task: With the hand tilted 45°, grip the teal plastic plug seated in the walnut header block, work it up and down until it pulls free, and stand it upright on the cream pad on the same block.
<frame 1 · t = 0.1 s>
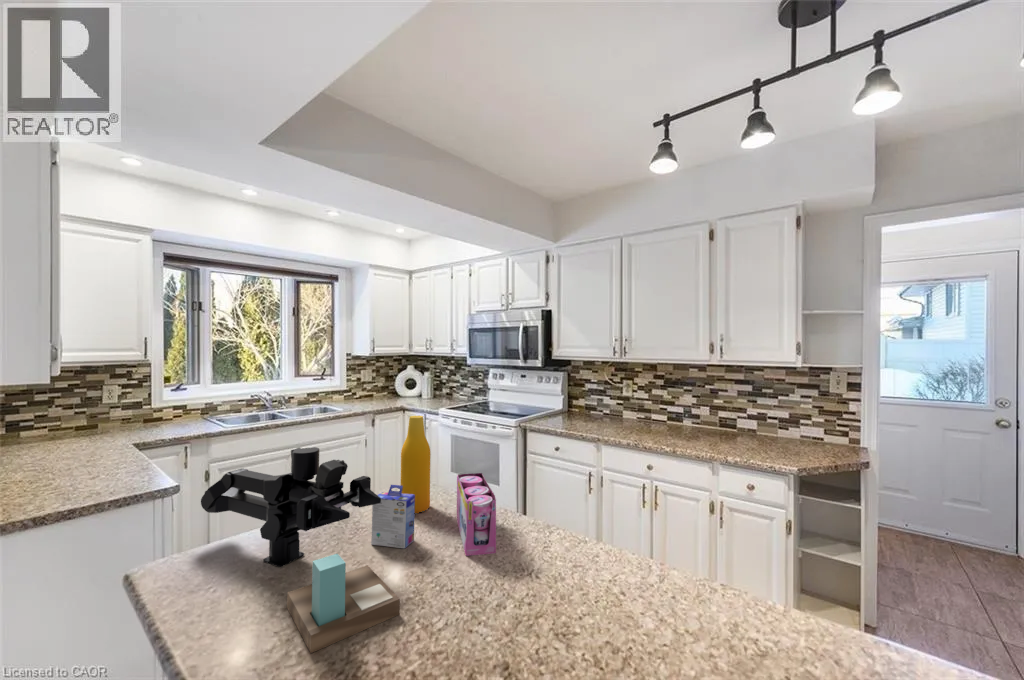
hand: (365, 507, 91), 17 cm above the countertop, tool horizontal, fingers open, 9 cm apart
plug: (328, 596, 76), in the header
beer bottle: (415, 509, 133), on the countertop
ink cartridge box: (393, 543, 110), on the countertop
gum box: (474, 536, 115), on the countertop
header: (327, 630, 76), on the countertop
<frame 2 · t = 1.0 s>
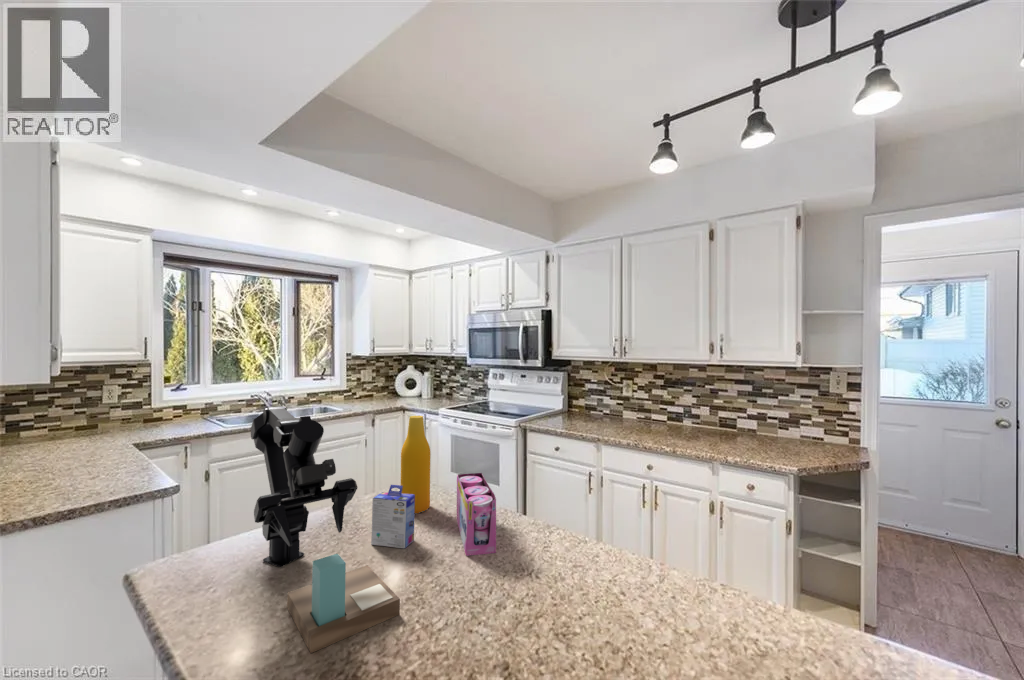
hand: (316, 538, 83), 14 cm above the countertop, tool tilted 45°, fingers open, 9 cm apart
nothing on the countertop moved.
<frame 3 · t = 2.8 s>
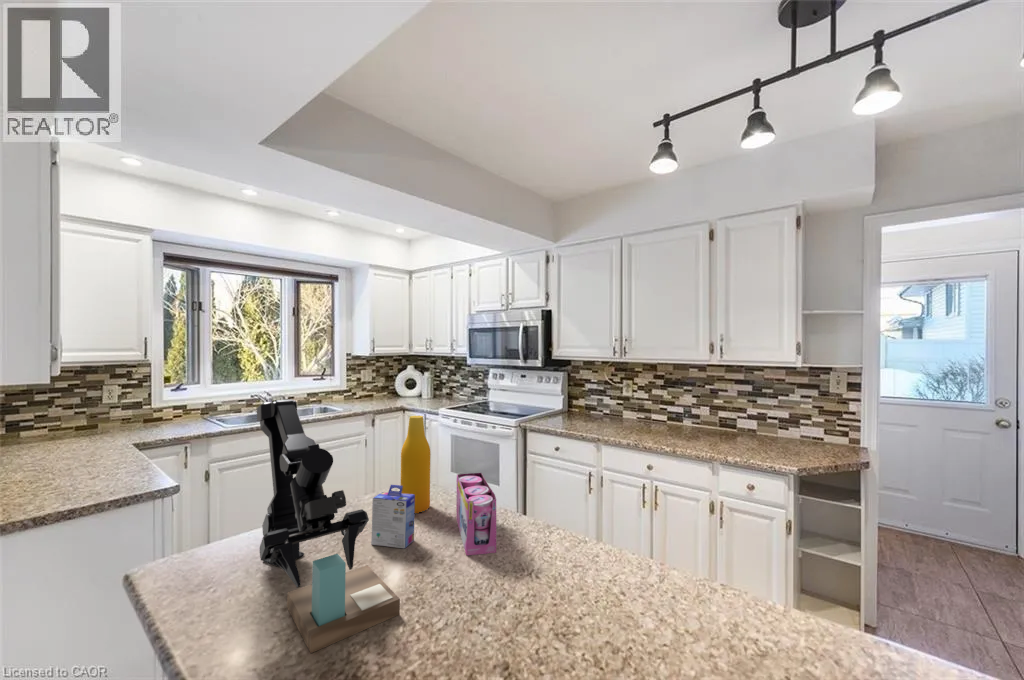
hand: (326, 577, 78), 9 cm above the countertop, tool tilted 45°, fingers open, 9 cm apart
nothing on the countertop moved.
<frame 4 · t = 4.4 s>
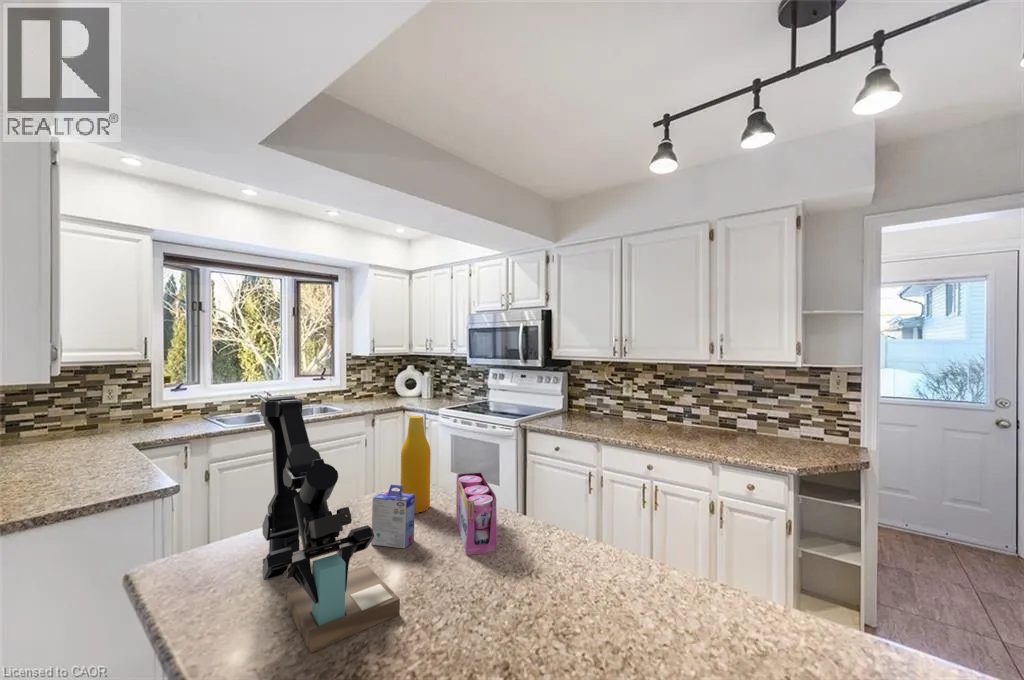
hand: (330, 597, 75), 7 cm above the countertop, tool tilted 45°, fingers closed on plug, 4 cm apart
plug: (328, 596, 76), in the header, touching gripper
everything else where it was.
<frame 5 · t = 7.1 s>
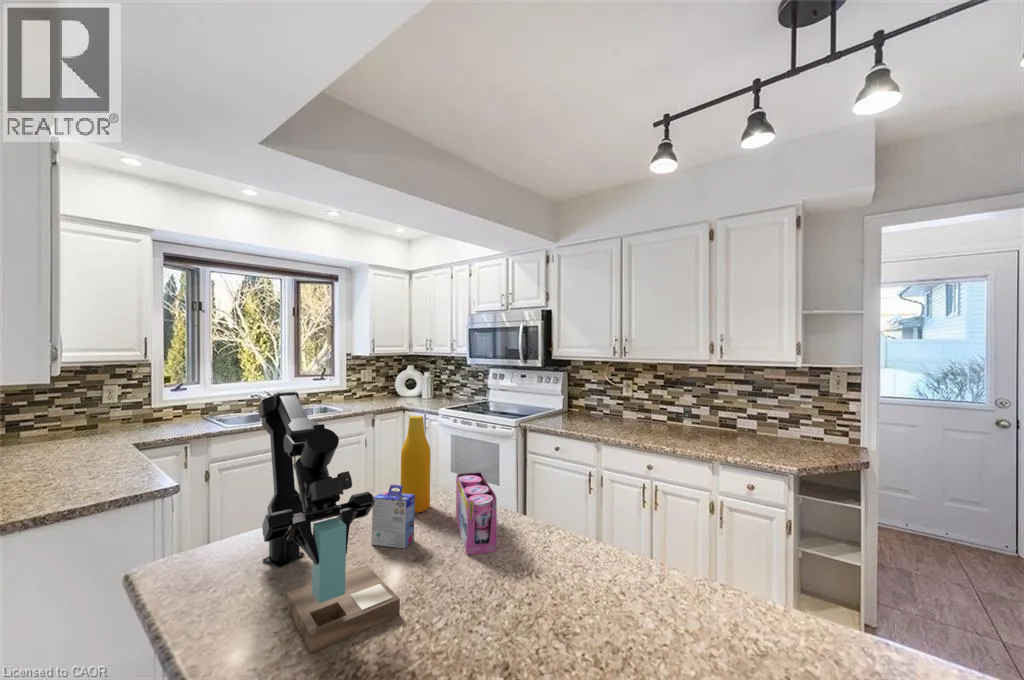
hand: (331, 559, 75), 13 cm above the countertop, tool tilted 45°, fingers closed on plug, 4 cm apart
plug: (329, 558, 76), point 13 cm above the countertop, touching gripper
everything else where it was.
when the fingers open (11 cm above the countertop, at t = 9.8 s): plug drops 1 cm, resting on header.
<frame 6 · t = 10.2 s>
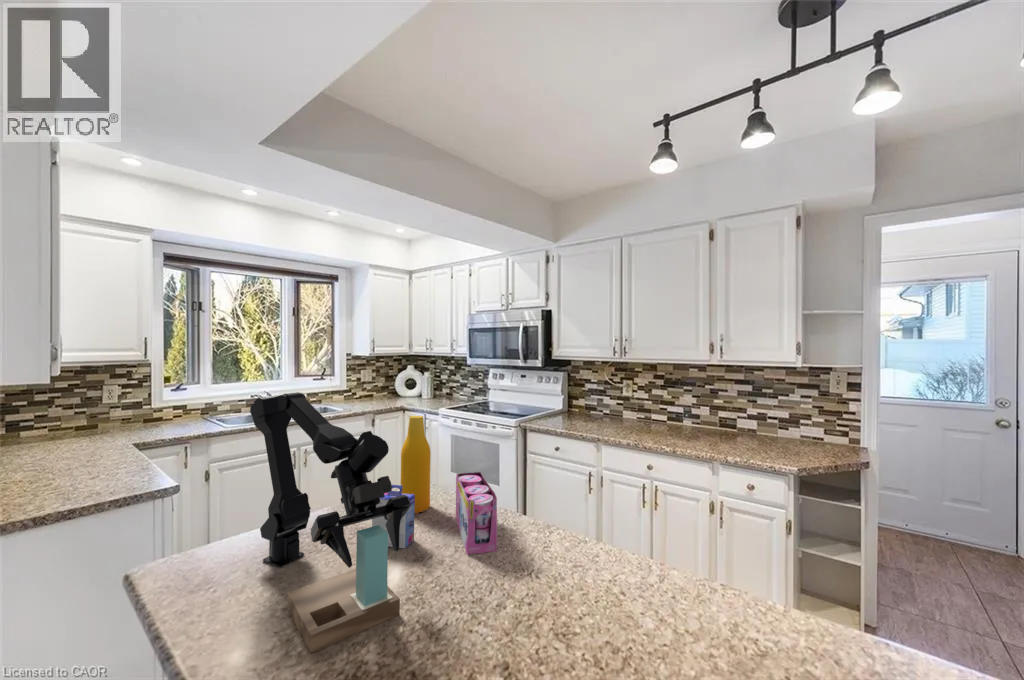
hand: (374, 558, 81), 11 cm above the countertop, tool tilted 45°, fingers open, 9 cm apart
plug: (371, 563, 82), on the header, point 9 cm above the countertop
everything else where it was.
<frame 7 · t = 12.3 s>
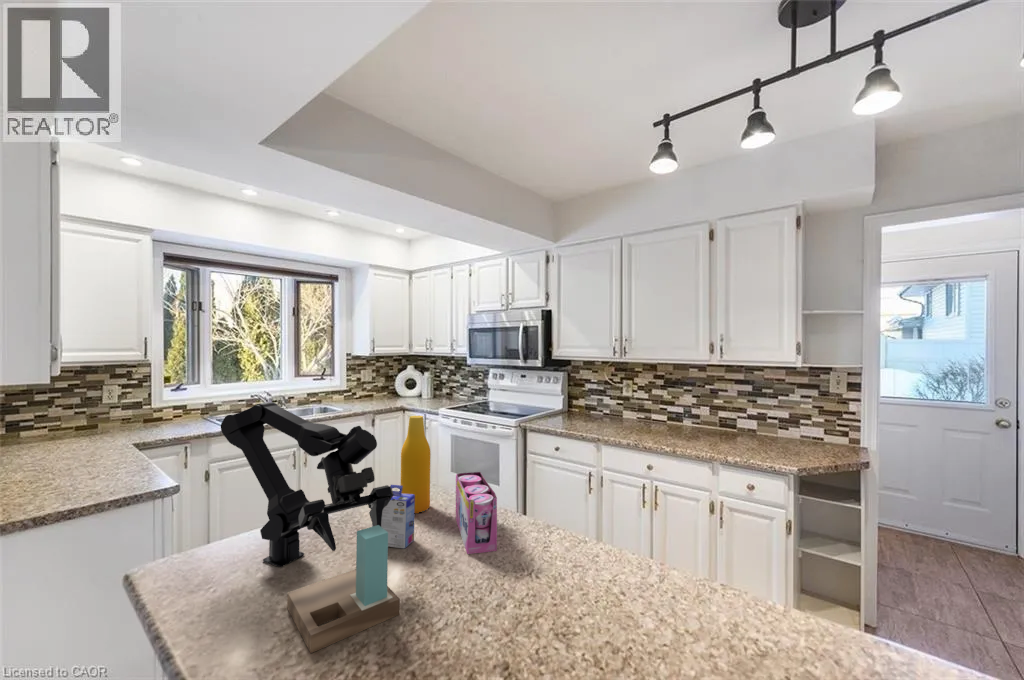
hand: (357, 543, 87), 11 cm above the countertop, tool tilted 45°, fingers open, 9 cm apart
nothing on the countertop moved.
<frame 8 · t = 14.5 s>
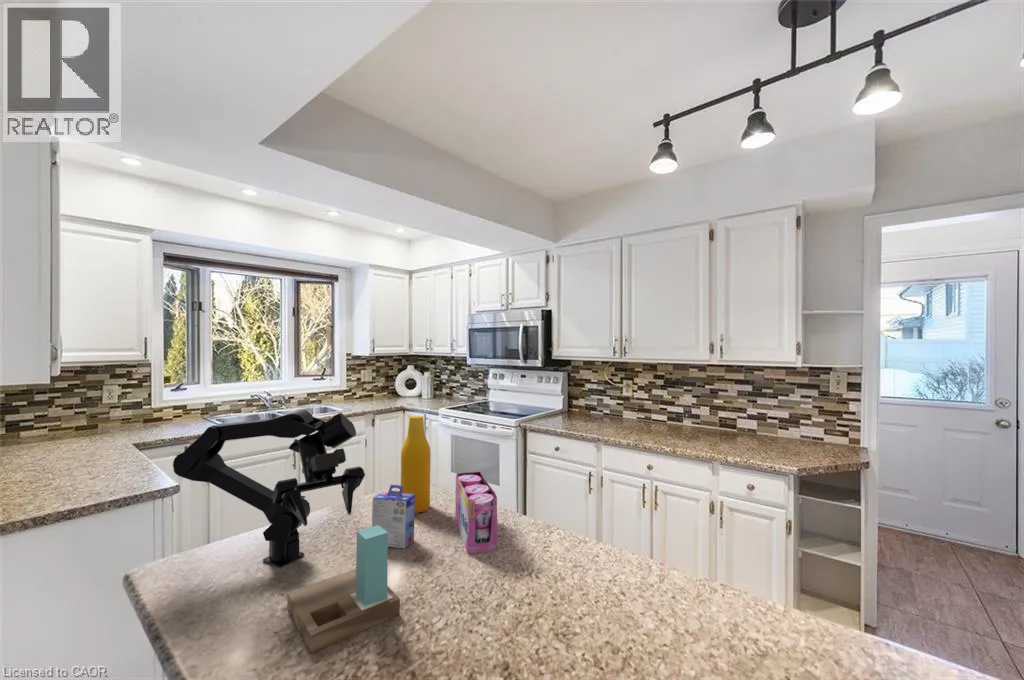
hand: (328, 519, 92), 14 cm above the countertop, tool tilted 45°, fingers open, 9 cm apart
at the end: plug 0.1 cm from the target spot on the header, point 9.4 cm above the header's base; plug tilted 0°; the gripper is holding nothing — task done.
